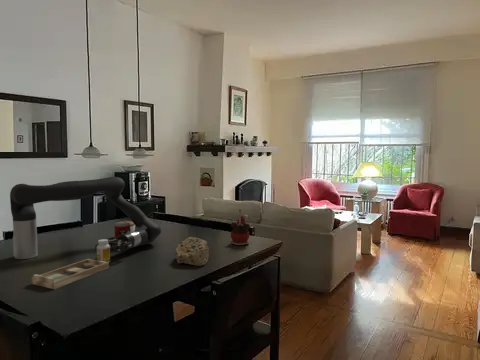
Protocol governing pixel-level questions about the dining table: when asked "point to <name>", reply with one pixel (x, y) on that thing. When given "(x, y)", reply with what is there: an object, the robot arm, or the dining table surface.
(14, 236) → the robot arm
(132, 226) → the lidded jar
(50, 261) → the dining table surface
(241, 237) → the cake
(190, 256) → the rock
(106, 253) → the supplement bottle
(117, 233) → the canned food
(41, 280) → the wooden tray
